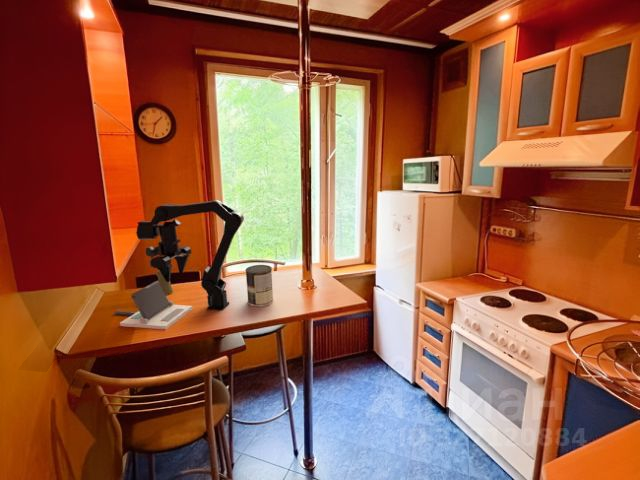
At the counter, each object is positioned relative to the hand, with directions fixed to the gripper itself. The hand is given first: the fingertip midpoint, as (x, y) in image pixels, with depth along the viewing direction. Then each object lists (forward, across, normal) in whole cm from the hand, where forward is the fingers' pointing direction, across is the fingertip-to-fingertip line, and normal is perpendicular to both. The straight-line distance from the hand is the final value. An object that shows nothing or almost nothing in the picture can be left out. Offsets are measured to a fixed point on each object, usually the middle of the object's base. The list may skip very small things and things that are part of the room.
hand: (174, 277), depth 132 cm
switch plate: (+13, +8, -8) cm, 17 cm away
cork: (+13, -14, -15) cm, 24 cm away
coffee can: (+14, -10, +30) cm, 34 cm away
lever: (+11, +8, -4) cm, 14 cm away
